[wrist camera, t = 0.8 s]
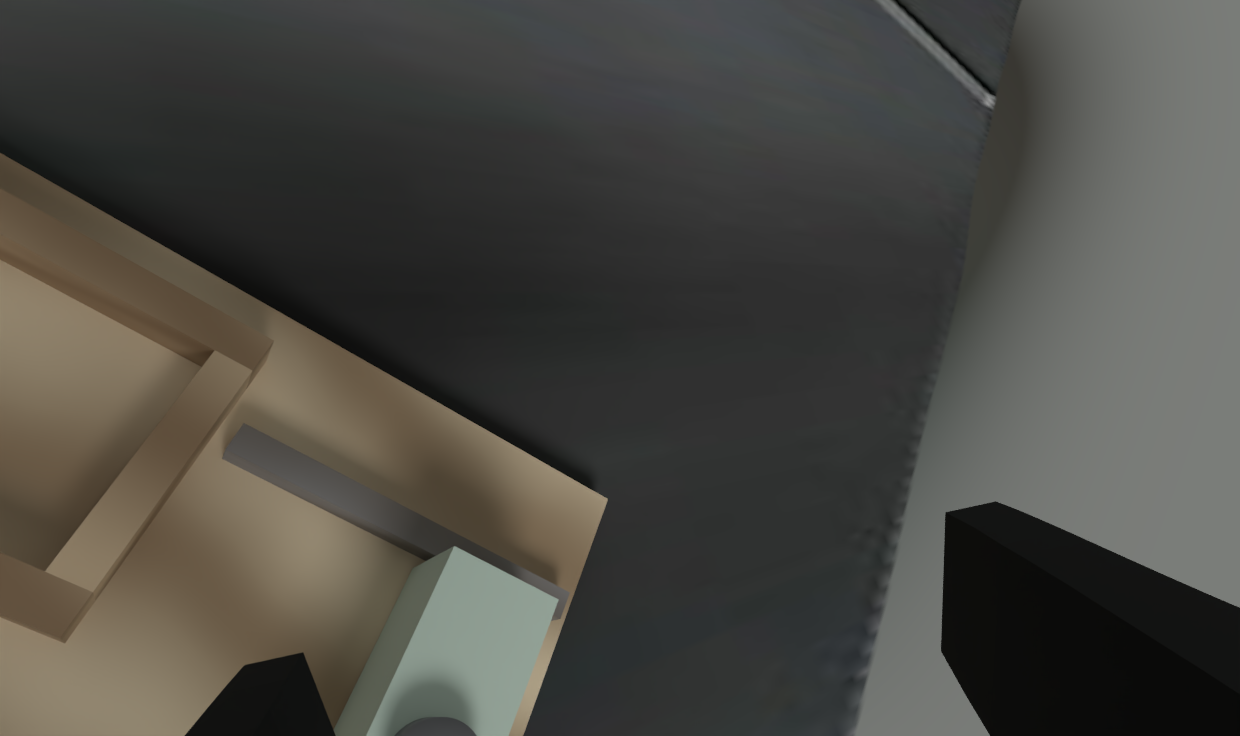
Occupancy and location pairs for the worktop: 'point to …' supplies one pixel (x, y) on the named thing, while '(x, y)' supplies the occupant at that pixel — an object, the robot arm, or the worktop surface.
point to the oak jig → (218, 486)
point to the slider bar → (451, 653)
